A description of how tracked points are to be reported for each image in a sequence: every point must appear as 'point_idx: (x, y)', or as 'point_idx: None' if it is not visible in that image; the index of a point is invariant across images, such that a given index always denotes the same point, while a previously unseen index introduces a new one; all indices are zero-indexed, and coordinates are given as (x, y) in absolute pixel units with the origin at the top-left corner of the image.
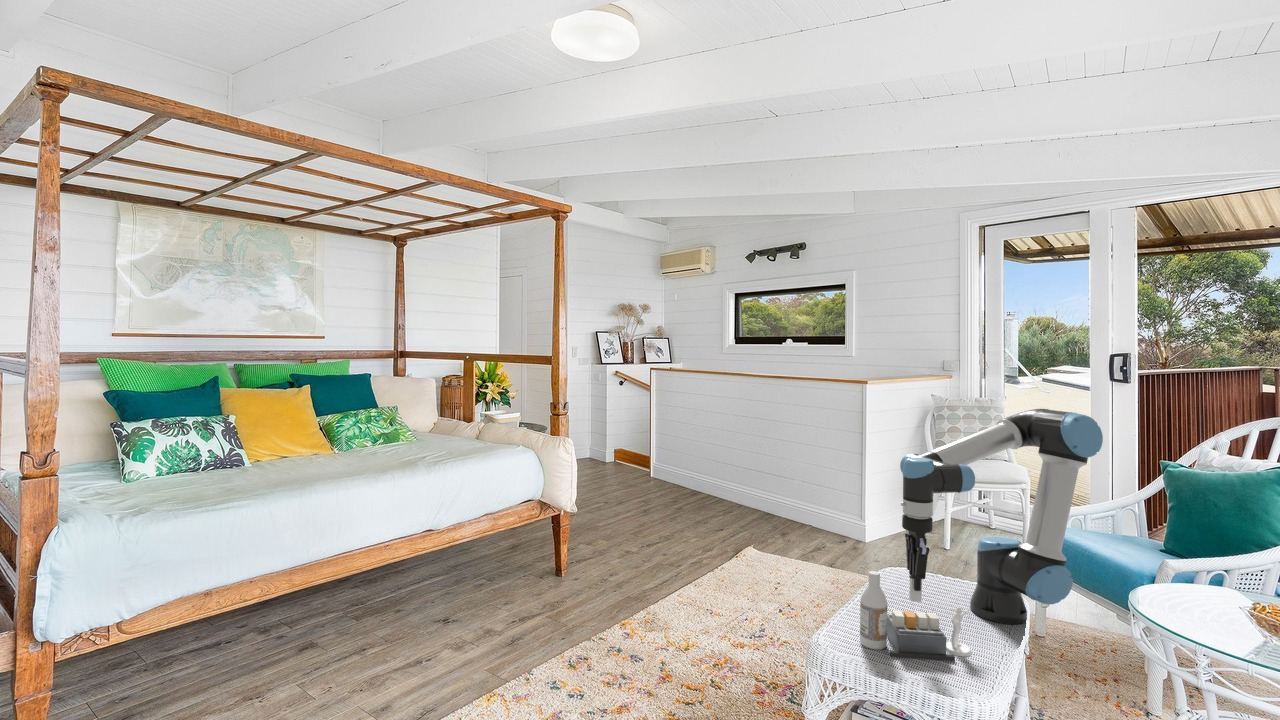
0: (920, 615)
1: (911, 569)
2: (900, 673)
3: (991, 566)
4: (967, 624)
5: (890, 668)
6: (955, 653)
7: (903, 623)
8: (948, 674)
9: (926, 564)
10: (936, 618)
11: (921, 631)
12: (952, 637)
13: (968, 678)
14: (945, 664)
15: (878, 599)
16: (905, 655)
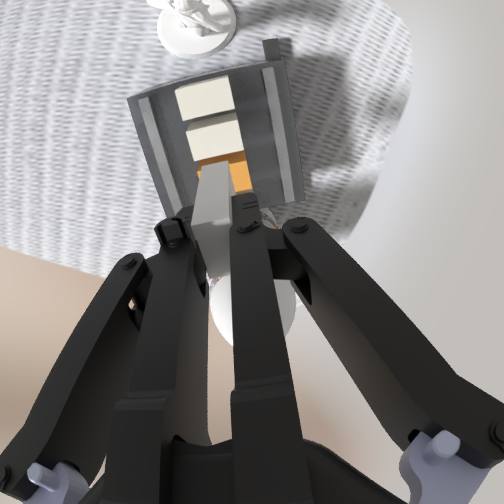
0: (223, 143)
1: (207, 302)
2: (367, 176)
3: None
4: (31, 14)
5: (351, 194)
6: (231, 30)
7: (252, 189)
8: (349, 70)
9: (391, 300)
10: (229, 87)
11: (283, 136)
12: (204, 33)
13: (355, 30)
14: (299, 65)
15: (292, 309)
16: None
